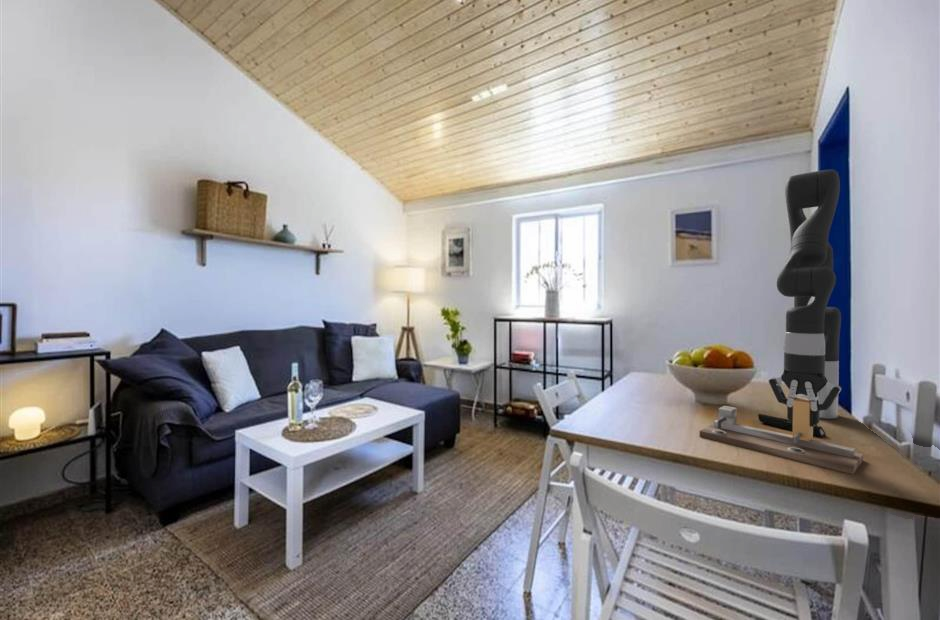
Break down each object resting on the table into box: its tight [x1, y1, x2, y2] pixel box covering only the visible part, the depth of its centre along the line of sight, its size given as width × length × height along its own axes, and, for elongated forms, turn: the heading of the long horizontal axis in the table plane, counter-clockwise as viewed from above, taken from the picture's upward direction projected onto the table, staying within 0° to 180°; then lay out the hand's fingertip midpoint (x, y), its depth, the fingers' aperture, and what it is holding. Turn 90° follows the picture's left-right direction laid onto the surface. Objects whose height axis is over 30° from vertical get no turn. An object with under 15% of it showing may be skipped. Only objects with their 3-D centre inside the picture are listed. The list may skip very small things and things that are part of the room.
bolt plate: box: [699, 405, 864, 475], centre depth 100 cm, size 11×30×7 cm, turn 39°
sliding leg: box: [791, 397, 814, 446], centre depth 96 cm, size 8×3×10 cm, turn 129°
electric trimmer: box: [757, 413, 827, 439], centre depth 113 cm, size 4×15×3 cm, turn 31°
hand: (802, 423), depth 97 cm, fingers closed on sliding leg, 3 cm apart
